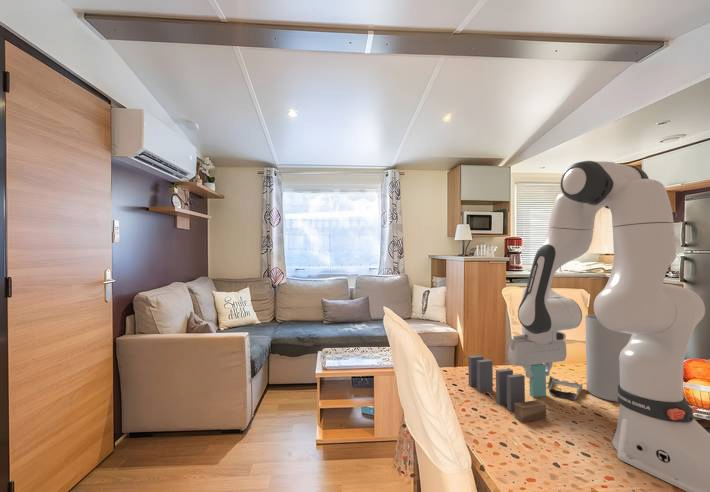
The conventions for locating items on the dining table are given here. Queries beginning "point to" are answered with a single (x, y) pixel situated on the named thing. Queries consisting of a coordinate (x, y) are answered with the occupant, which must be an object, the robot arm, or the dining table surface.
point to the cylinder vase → (603, 358)
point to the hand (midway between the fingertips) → (537, 376)
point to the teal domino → (538, 380)
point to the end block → (530, 411)
